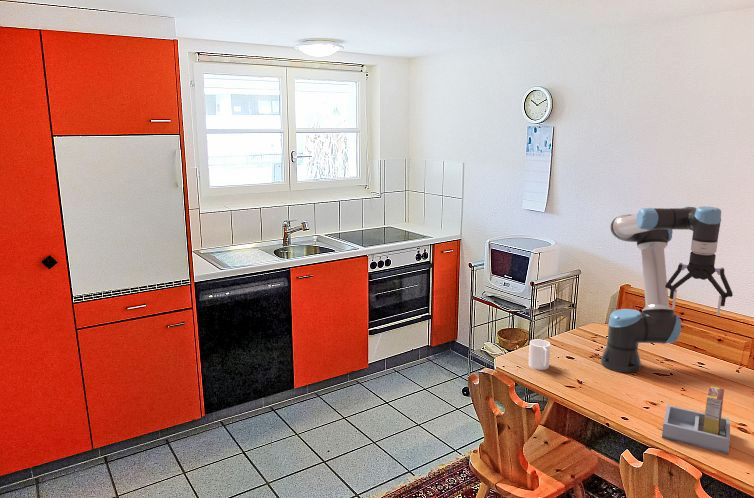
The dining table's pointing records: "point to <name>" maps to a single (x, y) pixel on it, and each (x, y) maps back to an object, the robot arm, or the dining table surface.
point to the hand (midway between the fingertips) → (695, 311)
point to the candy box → (713, 410)
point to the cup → (539, 354)
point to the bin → (694, 430)
